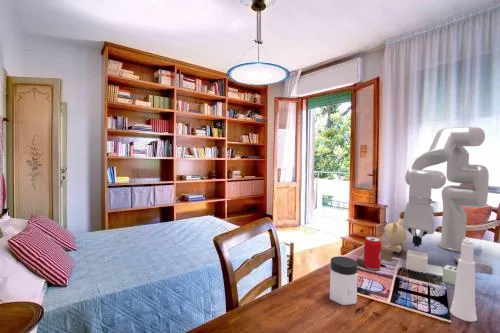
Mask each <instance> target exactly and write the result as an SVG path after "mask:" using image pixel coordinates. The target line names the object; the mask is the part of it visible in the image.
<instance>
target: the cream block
mask: <svg viewBox="0 0 500 333" xmlns="http://www.w3.org/2000/svg"><path fill="white" fill-rule="evenodd" d="M428 258H429V256H428V253H427V252H420V251H415V250H410V249H407V251H406V265H405V267H406V268H405V269H406V270H408V269H411V270H410V271H412V270H415V271H414V272H417V271H418V273H421V272H423V273H422V274H426V273H427V274H428V260H429V259H428Z"/></svg>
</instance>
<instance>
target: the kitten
mask: <svg viewBox="0 0 500 333" xmlns="http://www.w3.org/2000/svg"><path fill="white" fill-rule="evenodd" d="M382 237H383V239H384V240H385V242H387V244H386V245H385V246H392V249H393V252H394V253H400V252H401V251H402V249H403V243H405V241H406V240H407V230H405V229H403V221H402V219H401V218H399V219H398V221H397V222H389V223H388V224H386V225H385V226H384V227H383V230H382Z"/></svg>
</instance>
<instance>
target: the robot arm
mask: <svg viewBox="0 0 500 333" xmlns="http://www.w3.org/2000/svg"><path fill="white" fill-rule="evenodd" d="M485 140H486V133H485V131H484V129H482V128H481V127H472V126H461V127H460V126H459V127H458V126H457V127H446V128H442V129H440V130H438V131H437V132H436V134H435V136H434V138H433V141H432V143H431V146H430V147H429V150H428V151H426V152H424V153H422V154H421V155H418V157H416V158H414V159H413V160H412V161H411V162H410V164H409V166H408V168H407V171H406V173H405V176H404V177H405V178H404V179H405V183H406V185H407V186H409V188H408V189H409V190H408V202H406V204H405V207H404V214H403V221H402V226H403V229H405V231H406V232H409V233H410V234H411V236H412V244H413V246H414V247H417V248H420V246H421V245H422V243H423V242H422V241H423V237H425V236H426V235H433V234H434V233H435V232H434V223H435V218H434V217H435V215H434V213H435V212H434V206H433V205H432V204H436V200H435V199H432V189H433V190H437V189H441V188H442V190H441V200H442V219H441V220H442V221H441V222H442V223H441V236H440V241H438V242H437V243H436V244H437V245H436V246H438V247H439V248H441V249H444V250H446V251H449V252H450V251H451V252H456V253H461V244H462V243H463V240H466V234H467V220H468V219H467V218H468V216H467V213H466V211H465V209H464V208H463V207H469V208H470V207H471V208H477V209H479V208H480V209H481V208H484V207H486V206H487V203H488V197H489V196H488V194H489V193H488V192H489V182H490V181H489V180H490V179H489V175H490V174H489V170H488V168H487V167H486V166H485V165H482V164H470V162H469V161H470V158H469V157H470V153H469V152H468V150H467V149H466V148H465V147H480V146H481V145H483V143H484V141H485ZM444 163H446V175H445V174H444V172H442V171H439V170H432V169H431V170H430V169H427V168H428V167H432V166H435V165H436V166H437V165H440V164H444ZM425 168H426V169H425ZM447 181H448V182H450V183H454V184H462V185H446V186H445V184H446V183H447ZM463 184H464V185H465V184H466V185H473V187H472V186H466V185H465V186H464V185H463ZM417 230H419V233H418V234H417Z"/></svg>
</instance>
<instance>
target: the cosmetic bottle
mask: <svg viewBox="0 0 500 333" xmlns="http://www.w3.org/2000/svg"><path fill="white" fill-rule="evenodd" d="M474 250H475V246H474V241H473V240H469V239H465V240H463V243H462V244H461V252H460V255H461V258H460V259H459V260H458V262H457V275H456V284H455V285H454V292H453V298H452V301H451V302H452V303H451V307H450V309H449V313H450V314H451V315H452V316H454V317H456V318H457V319H459V320H461V321H464V322H470V323H473V322H476V321H477V320H478V316H477V311H476V310H477V309H476V296H475V295H476V294H475V293H476V292H475V290H476V288H475V285H476V276H475V275H476V272H475V263H474V262H473V256H474Z"/></svg>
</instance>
